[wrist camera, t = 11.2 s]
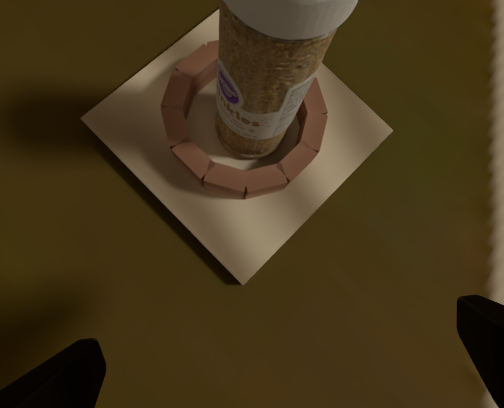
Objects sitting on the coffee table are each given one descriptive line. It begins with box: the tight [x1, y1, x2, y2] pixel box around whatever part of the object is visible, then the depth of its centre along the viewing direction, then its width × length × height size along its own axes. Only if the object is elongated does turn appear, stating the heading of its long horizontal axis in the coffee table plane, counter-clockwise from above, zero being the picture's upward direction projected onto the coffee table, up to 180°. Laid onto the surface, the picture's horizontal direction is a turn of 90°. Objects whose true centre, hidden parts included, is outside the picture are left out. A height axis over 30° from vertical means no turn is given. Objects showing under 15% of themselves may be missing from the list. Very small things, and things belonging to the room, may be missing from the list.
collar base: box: [80, 9, 393, 285], centre depth 22 cm, size 14×14×3 cm
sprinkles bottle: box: [215, 0, 358, 159], centre depth 15 cm, size 5×5×14 cm
